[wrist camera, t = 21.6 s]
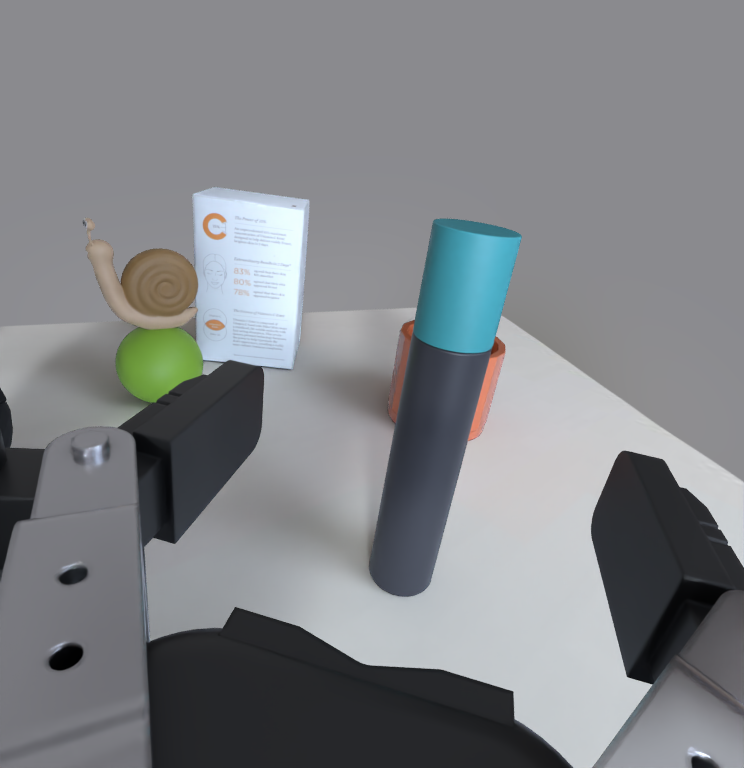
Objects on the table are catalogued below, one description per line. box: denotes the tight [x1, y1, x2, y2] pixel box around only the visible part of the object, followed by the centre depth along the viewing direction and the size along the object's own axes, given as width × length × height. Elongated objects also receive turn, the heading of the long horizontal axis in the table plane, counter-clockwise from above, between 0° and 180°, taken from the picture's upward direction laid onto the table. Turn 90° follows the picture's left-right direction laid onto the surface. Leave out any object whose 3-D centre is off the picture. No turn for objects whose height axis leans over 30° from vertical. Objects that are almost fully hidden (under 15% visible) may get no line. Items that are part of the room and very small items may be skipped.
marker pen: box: [369, 219, 522, 596], centre depth 20 cm, size 3×3×16 cm
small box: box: [192, 187, 309, 369], centre depth 41 cm, size 8×6×13 cm
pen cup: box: [388, 320, 505, 441], centre depth 37 cm, size 7×7×6 cm
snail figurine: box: [83, 218, 203, 403], centre depth 32 cm, size 5×6×12 cm
